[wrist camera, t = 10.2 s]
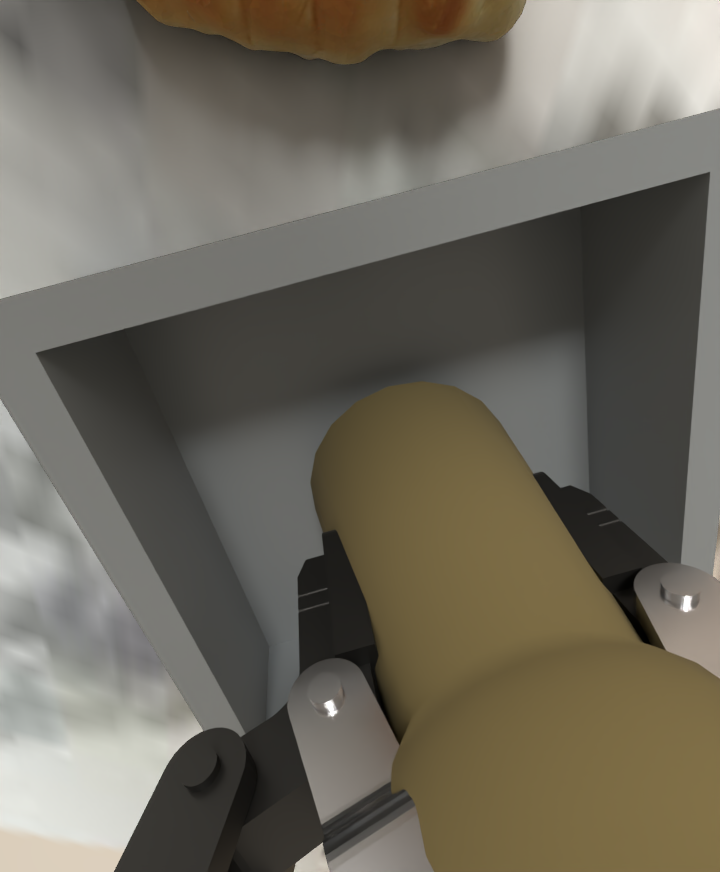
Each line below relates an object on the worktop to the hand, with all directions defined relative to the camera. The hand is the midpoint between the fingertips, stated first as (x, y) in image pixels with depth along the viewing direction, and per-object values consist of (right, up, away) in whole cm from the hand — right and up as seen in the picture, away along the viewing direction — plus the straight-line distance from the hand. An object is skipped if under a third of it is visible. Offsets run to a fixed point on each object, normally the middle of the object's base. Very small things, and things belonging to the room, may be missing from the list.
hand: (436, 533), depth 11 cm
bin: (-1, +2, +5) cm, 5 cm away
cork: (0, +1, +3) cm, 3 cm away
